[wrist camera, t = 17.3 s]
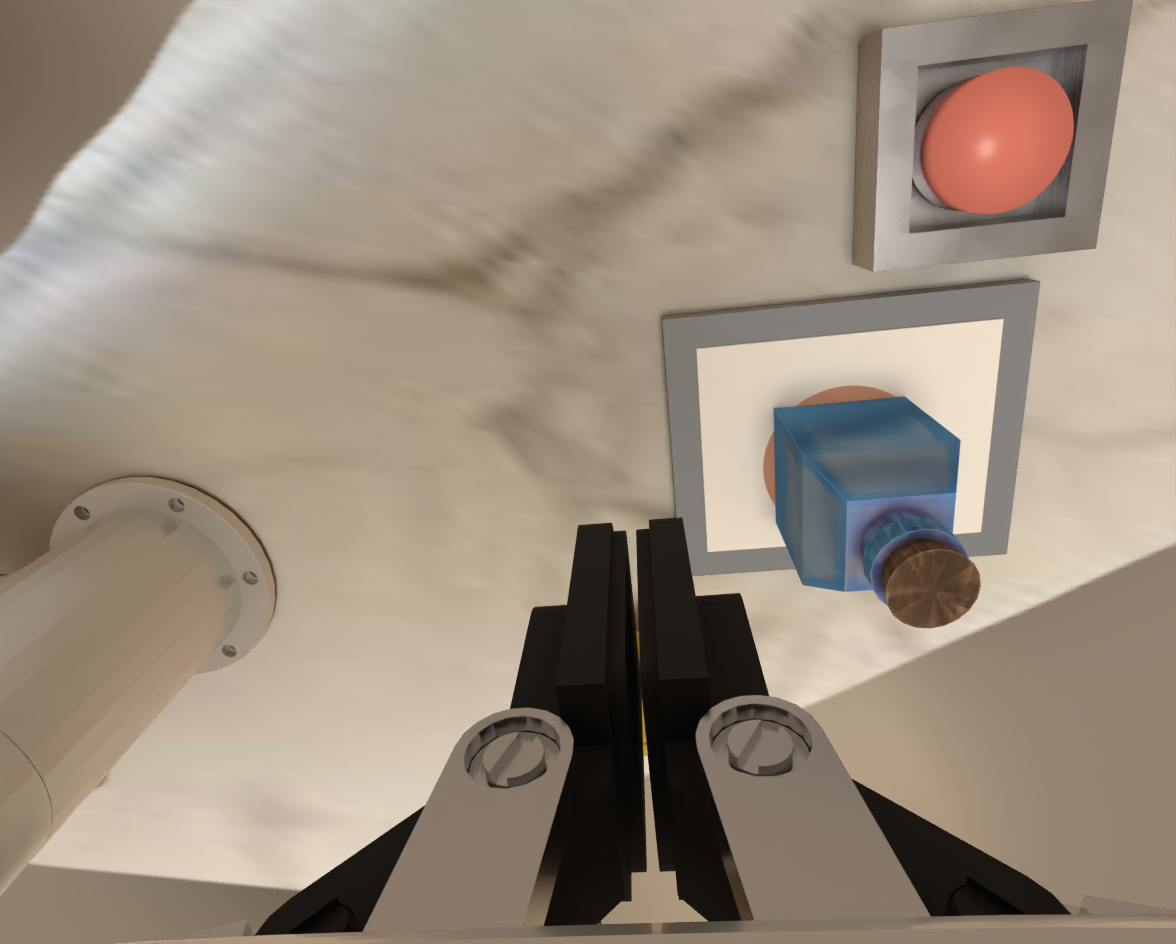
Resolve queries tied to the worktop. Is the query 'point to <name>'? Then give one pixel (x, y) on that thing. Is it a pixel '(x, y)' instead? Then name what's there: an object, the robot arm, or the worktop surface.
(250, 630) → the robot arm
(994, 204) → the button
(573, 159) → the worktop surface
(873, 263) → the button base
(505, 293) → the worktop surface
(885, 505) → the perfume bottle
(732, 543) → the board
